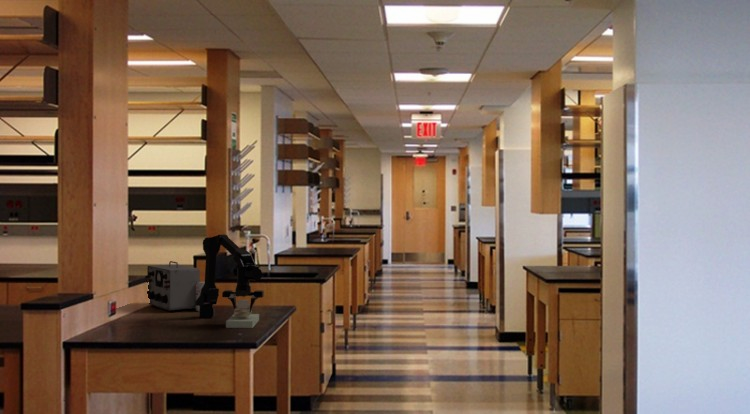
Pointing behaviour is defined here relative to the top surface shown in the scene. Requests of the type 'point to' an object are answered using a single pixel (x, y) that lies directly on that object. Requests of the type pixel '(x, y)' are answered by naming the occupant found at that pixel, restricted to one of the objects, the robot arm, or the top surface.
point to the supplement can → (198, 291)
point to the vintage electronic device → (172, 286)
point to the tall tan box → (242, 312)
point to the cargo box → (243, 304)
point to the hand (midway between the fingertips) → (243, 312)
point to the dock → (242, 321)
